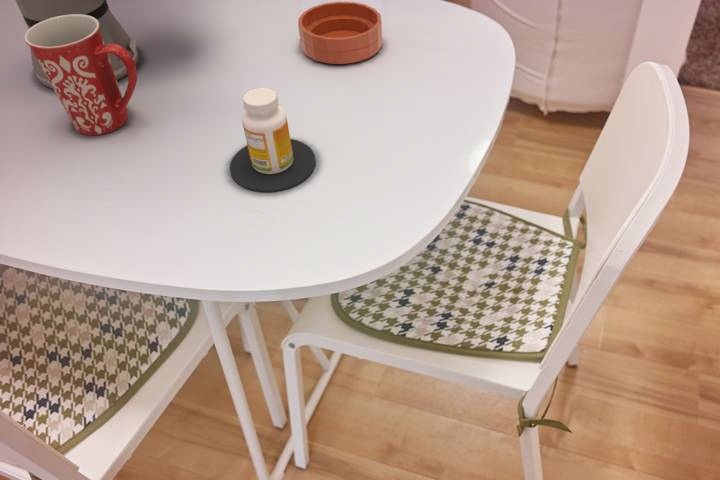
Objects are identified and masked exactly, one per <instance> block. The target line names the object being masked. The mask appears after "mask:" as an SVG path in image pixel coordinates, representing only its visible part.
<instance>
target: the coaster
mask: <svg viewBox="0 0 720 480" xmlns="http://www.w3.org/2000/svg"><path fill="white" fill-rule="evenodd" d="M290 140H291V146H292V152H293V163H292V165H291V166H290V167H289V168H288V169H286V170H285V171H283V172H280V173H276V174H263V173H260V172H258V171H257V170H255V169H254V168H253V166H252V163H251V159H250V154H249V150H248V146H247V145H245V146H244V147H242V148H241V149H240V150H238V151H237V152H236V153H235V154H234V155H233V157H232V159H231V161H230V164H229V171H230V175H231V178H232V179H233V181H234V182H235V183H236V184H237V185H239V186H240V187H242V188H244V189H246V190H249V191H253V192H258V193H276V192H282V191H285V190H289V189H292V188H294V187H297V186H298V185H300V184H303V183H304V182H305V181H306V180H308V179H309V177H310V176H312V174H313V172H314V170H315V168H316V163H317V161H316V160H317V159H316V155H315V152H314V151H313V150H312V148H311V147H310V146H308V145H307V144H306V143H304V142H302V141H300V140H298V139H295V138H290Z"/></svg>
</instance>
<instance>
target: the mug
mask: <svg viewBox="0 0 720 480" xmlns="http://www.w3.org/2000/svg"><path fill="white" fill-rule="evenodd" d="M23 41H24V42H25V43H26V45H27V46H28V47H29V48H30V51H31V50H32V51H33V53H34V55H35V57H36V58H37V60H38V62H39V64H40V66H41V68H42V69H43V71H44V73H45V75H46V77H47V78H48V80H49V82H50V84H51V85H52V87H53V88H52V89H53V91H54V93H55V94H56V96H57V98H58V100H59V101H60V103H61V105H62V107H63V109H64V111H65V112H66V114H67V116H68V118H69V120H70V121H71V123H72V125H73V127H74V129H75V130H76V131H77V132H78V133H79V134H83V135H87V136H100V135H105V134H108V133H109V134H110V133H111V132H114V131H116V130H118V129H119V128H121V127H122V126H123V125H125V123H127V121H128V118H129V112H128V109H127V106H128V104H129V102H130V100H131V98H132V97H133V94H134V92H135V90H136V89H135V88H136V85H137V81H138V71H137V65H135V62H134V60H133V58H132V56H131V55H130V53H129V52H128V51H127V50H126V49H125V48H123V47H122V46H120V45H117V44H107V45H105V44H104V41H103V38H102V35H101V32H100V24H99V21H98V20H97V19H96V18H94V17H92V16H88V15H82V14H71V15H62V16H57V17H53V18H50V19H47V20H44V21H42V22H39V23H37V24H35V25H34V26H32V27H31V28H30V29H29V30H28V29H27V30H26V31H25V33H24V35H23ZM108 54H114V55H116V56H117V57H119V58H120V59H121V60H122V62H123V63H124V65H125V67H126V69H127V72H128V74H127V76H128V77H127V78H128V82H127V87H126V90H125V93H124V95H122V92H121V89H120V86H119V83H118V80H116V77H115V74H114V71H113V68H112V65H111V62H110V59H109V56H108Z"/></svg>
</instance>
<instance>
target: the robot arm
mask: <svg viewBox="0 0 720 480" xmlns="http://www.w3.org/2000/svg"><path fill="white" fill-rule="evenodd" d="M15 2H16V5H17V8H18V9H19V11H20V13H21V15H22V17H23V19H24V21H25V24H26V27H27V31H28V30H29V29H30V28H31V27H32V26H34V25H35V24H37V23H39V22H42V21H44V20H47V19H50V18H53V17H57V16H62V15H71V14H82V15H88V16H92V17H94V18H96V19H97V20H98V21H99V24H100V32H101V35H102V38H103V41H104V44H105V45H107V44H117V45H120V46H122V47H123V48H125V49H126V50H127V51H128V52H129V53H130V55H131V56H132V58H133V60H134V62H135V65H136V66H138V64H139V60H140V57H139V53H138V50H137V42H136V41H135V39H134V38H133V36H129V34H128V33H127V32H126V30H125V29H124V27H123V26H122V25H121V23H120V22H119V21H118V19H117V18H116V16H115V15H114V14H113V13H112V11H111V9H110V7H109V5H108V1H107V0H15ZM108 56H109V59H110V62H111V65H112V68H113V71H114V74H115V77H116V80H117V81H119V80H121V79H123V78H124V77H126V76H128V72H127V69H126V67H125V65H124V63H123V62H122V60H121V59H120V58H119V57H117V56H116V55H114V54H108ZM30 57H31V65H32V69H33V72H34V73H35V75H36V78H37V79H38V81H39V82H40V84H42V86H43V85H44V87H47V88H50V89H53V87H52V85H51V84H50V82H49V80H48V78H47V77H46V75H45V73H44V71H43V69H42V68H41V66H40V64H39V62H38V60H37V58H36V57H35V55H34V53H33V51H32V50H31V49H30Z"/></svg>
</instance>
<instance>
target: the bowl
mask: <svg viewBox="0 0 720 480" xmlns="http://www.w3.org/2000/svg"><path fill="white" fill-rule="evenodd" d="M297 26H298V33H299V34H298V35H299V41H300V48H301V50H302V52H303V53H304V54H305V56H306V57H309V58H310V59H312V60H314V61H317V62H321V63H324V64H331V65H332V64H335V65H346V64H353V63H358V62H361V61H363V60H367V59H369V58H372V57H373V56H374V55H376V54H377V53H378V52H379V51H380V49H381V47H382V45H383V36H382V35H383V29H382V15H381V13H379V12H378V10H377V9H376V8H374V7H373V6H370V5H367V4H365V3H360V2H355V1H332V2H325V3H321V4H317V5H314V6H313V7H310V8H308V9H307V10H305V11H302V14H301V15H300V16H299V17H298V21H297Z"/></svg>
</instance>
